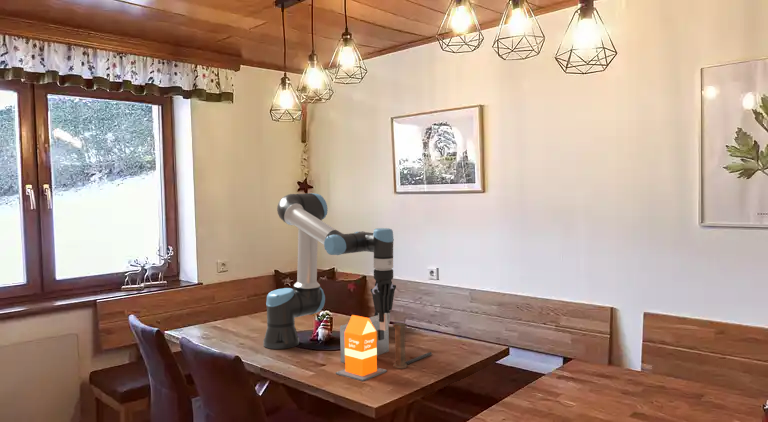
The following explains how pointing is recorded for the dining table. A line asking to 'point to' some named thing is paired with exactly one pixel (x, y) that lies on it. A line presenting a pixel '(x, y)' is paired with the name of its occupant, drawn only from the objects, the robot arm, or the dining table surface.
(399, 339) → the cable post
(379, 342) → the box
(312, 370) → the dining table surface
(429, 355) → the dark gray rod
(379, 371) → the felt mat
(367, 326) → the orange juice
